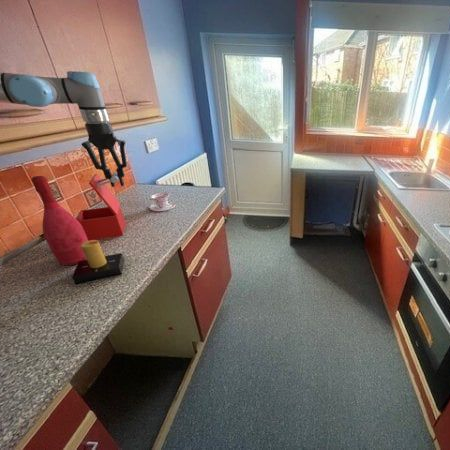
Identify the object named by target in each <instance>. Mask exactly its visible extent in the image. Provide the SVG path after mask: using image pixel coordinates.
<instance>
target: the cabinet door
mask: <svg viewBox="0 0 450 450" xmlns="http://www.w3.org/2000/svg"><path fill="white" fill-rule="evenodd" d="M110 182H113V183H115V184H117V183H118V182H119V178H118V174H117V171H114V172H113V173H112V177H111V179H110V180H109V178H107V179H106V178H105V177H104V178H101V177H100V176H99V174H98V173H94V175H93V176H92V178H91V179H90V181H89V182H88V184H89V186H90V187H91V188H92V189H93V191H94V192H95V193H96V194H97V196H98V197H99V198H100V199H101V200H102V201H103V203H104V204H105V206H106V207H109V209H110V210H111V211H112V212H113V214H114V215H117V213H118V210H119V207H121V203H120V201H119V200H118V199H117V198H116V196H115V195H114V193H112V191H111V190H110V188H109V187H108V186H107V185H108V184H111V183H110Z"/></svg>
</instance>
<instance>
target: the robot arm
mask: <svg viewBox="0 0 450 450" xmlns="http://www.w3.org/2000/svg"><path fill="white" fill-rule="evenodd" d="M0 103H2V104H15V105H25V106H28V107H34V108H44V107H48V106H50V105H56V104H57V105H58V104H62V105H63V104H65V105H66V104H69V105H70V104H72V105H74V104H75V105H77V107H78V110H79V112H80V115H81V118H82V121H83V122H84V127H85V129H86V133H87V135H88V138H87V140H85V141H83V142H82V143H81V146H82V147H83V148H84V149H85V150H86V152H87V154H88V156H89V158H90V160H91V162H92V164H93V166H94V168H95V169H96V170H100V171H102V173H103V176H104V179H105V178H106V179H107V178H109V179H108V181H109V180H110V179H111V177H112V175H113V173H112V172H111V169H110V168H108V166H107V161H106V156H105V150H108V152H109V153H110V155H111V157H112V159H113V162H114V163H115V165H116V169H115V172H117V174H118V178H119V180H118V182H119V184H120V186H121V187H124V185H125V182H124V179H123V178H124V177H125V172H124V168H127V166H128V163H127V156H126V150H125V149H126V148H125V146H126V141H125V140H124V139H119V138H117V136H116V135H115V133H114V130H113V127H112V124H111V123H110V116H109V113H108V111H107V107H106V104H105V100H104V97H103V93H102V90H101V87H100V85H99V82H98V78H97V76H96V75H95V74H94V73H92V72H89V71H77V70H76V71H75V70H74V71H73V70H68V71H66V77H51V76H36V75H30V74H19V73H13V72H12V73H11V72H3V71H0ZM116 143H117V145H118V146H119V152H120V157H121V158H120V159H121V161H120V159H119V156H118V153H117V152H116V150H115V145H116ZM92 145H93V146H94V147H95V148H97V152H98V155H99V160H100V161H99V160H98V158H97V156H96V153H95V152H94V150H93V147H92ZM109 184H110V186H111V187H112V188H114V187H115V186H116V183H113V182H110V183H109Z"/></svg>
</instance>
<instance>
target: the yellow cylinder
mask: <svg viewBox="0 0 450 450" xmlns="http://www.w3.org/2000/svg"><path fill="white" fill-rule="evenodd" d="M81 248H82V250H83V252H84V254H85V256H86V259H87V261H88V263H89V265H90V267H91V268H99V267H101V266H103V265H105V264H106V263H107V261H106V259H105V256H106V255H105V254H104V251H103V249H102V246H101V244H100V241H99V239H97V240H90V241H86V242H84V243H82V244H81Z"/></svg>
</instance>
